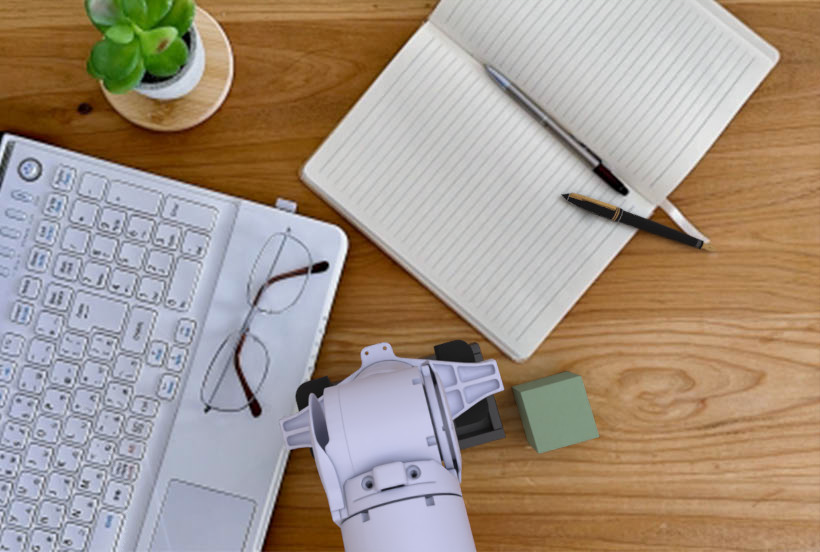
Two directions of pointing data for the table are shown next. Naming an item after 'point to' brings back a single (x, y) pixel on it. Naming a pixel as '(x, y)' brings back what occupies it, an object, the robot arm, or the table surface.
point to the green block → (555, 411)
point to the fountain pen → (634, 220)
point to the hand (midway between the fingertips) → (393, 392)
